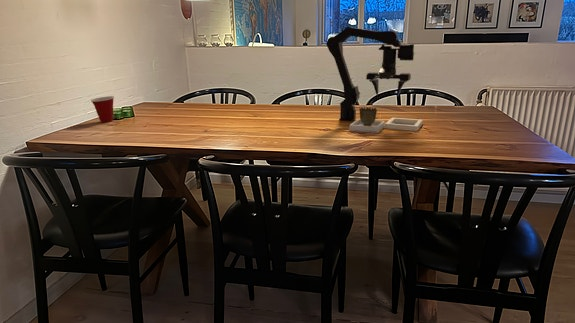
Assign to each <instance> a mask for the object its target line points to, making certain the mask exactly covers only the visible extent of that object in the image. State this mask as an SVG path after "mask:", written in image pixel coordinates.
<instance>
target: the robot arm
mask: <svg viewBox="0 0 575 323" xmlns="http://www.w3.org/2000/svg"><path fill="white" fill-rule="evenodd" d="M350 37H354V38H362V39H367V40H368V39H369V40H374V41H377V42H380V43H382V45H381V46H380V47H379V48H378V50H379V51H382V63H381V68H380V69H379V71H378V72H377V71H376V72H375V71H371V72H368V73H367V74H366V76H365V78H366V81H367V80H369V82H370V83H372V85H373V87H374V91H375V94H376V95H375V96H378V95H379V79H380V80H382V79H383V80H391V79H394V80H397V79H398V81H397V82H398V85H397V90H396V97H399V95H400V93H401V90H402V88H403V86H404V84H405V83H407V82H409V81H410V80H411V78H412V74H411V73H410V72H401V73H399V74H397V68H396V65H397V59H399V61H406V62H407V61H409V62H410V61H411V62H412V61H414V59H415V58H414V56H415V51H414V50H415V47H414V46H415V44H413V43H410V44H402V42H400V40H399V35H398V33H397V32H396V31H395V30H378V31H377V30H371V29H363V28H357V27H352V26H347V27H345V28H344V29H343V30H342V31H340V32H338V33H337V34H336V35H335V36H334V35H333V36H330V37H329V38H327V40H326V43H325V44H326V47H327V49H328V51H329V53H330V54H331V56H332V57H333V59H334V62H335V65H336V67H337V70H338V74H339V76H340V79H341V83H342V85H343V97H344V99H343V100H342V101H341V102H340V103H339V105H340V114H339V116H340V118H339V119H338V120H339V121H350V122H353V121H354V120H355V119H356V120H357V110H356V106H355V105H356V103H357V102H358V101H359V99H360V97H361V96H360V95H361V93H360V91H359V86H358V85H356V86H355V85H354V83H353V81H352V78H351V75H350V73H349V69H348V65H347V62H346V60H345V56H344V48H343V43H345V41H347V40H348V39H349V38H350ZM392 46H393V47H392Z"/></svg>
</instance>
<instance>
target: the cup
mask: <svg viewBox="0 0 575 323" xmlns="http://www.w3.org/2000/svg"><path fill="white" fill-rule="evenodd" d="M377 111H378V110H377V108H376V107H370V106H369V107H368V106H367V107H360V108H359V119H360V120H361V122H362V123H364V124H363V126H372V123H373V122H374V121H376V117H377V113H378V112H377Z"/></svg>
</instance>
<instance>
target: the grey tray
mask: <svg viewBox="0 0 575 323" xmlns="http://www.w3.org/2000/svg"><path fill="white" fill-rule="evenodd" d="M385 123H386V121H385V120H375V121H374V122H373V123H372V126H363V124H364V123H362V122H361V120H360V118H358V119H356V120H355V121H354V122H353V121H352V123H351V124H349V128H348V129H349V131H350V132H360V133H372V134H379V132H381V131H382V130H383V129H385Z"/></svg>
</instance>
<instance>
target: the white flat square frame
mask: <svg viewBox="0 0 575 323" xmlns="http://www.w3.org/2000/svg"><path fill="white" fill-rule="evenodd" d="M422 125H423V119H419V118H418V119H416V118H403V117H391V118H390V119H389V120H388V121H387V122H386V121H385V127H384V129H391V130H401V131H411V132H412V131H415V132H418V130H419V129H420V128H421V127H422Z"/></svg>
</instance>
